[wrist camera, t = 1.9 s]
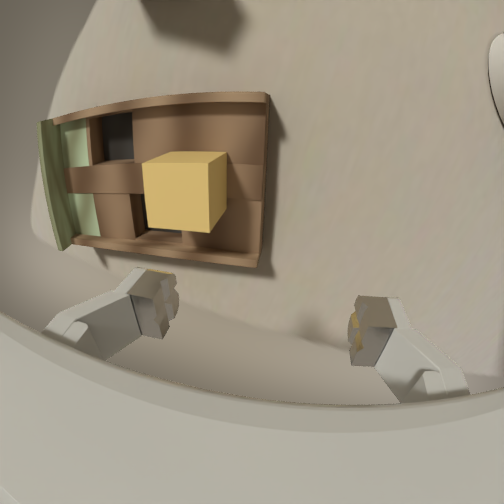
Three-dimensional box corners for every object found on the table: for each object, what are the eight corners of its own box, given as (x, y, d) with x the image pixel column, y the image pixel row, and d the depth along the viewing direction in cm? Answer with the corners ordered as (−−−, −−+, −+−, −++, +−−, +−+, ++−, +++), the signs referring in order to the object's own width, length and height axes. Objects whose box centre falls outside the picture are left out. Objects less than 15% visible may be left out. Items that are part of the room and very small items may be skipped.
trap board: (269, 95, 21) (261, 90, 16) (261, 249, 28) (253, 279, 23) (69, 115, 24) (36, 122, 19) (84, 230, 31) (58, 250, 26)
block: (226, 151, 21) (208, 163, 17) (226, 208, 24) (209, 232, 20) (171, 151, 22) (141, 163, 18) (174, 205, 24) (148, 227, 20)
